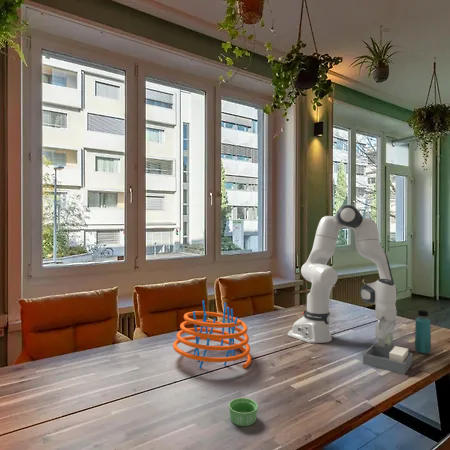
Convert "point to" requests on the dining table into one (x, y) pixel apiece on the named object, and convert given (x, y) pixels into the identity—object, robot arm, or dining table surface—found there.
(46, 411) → the dining table surface
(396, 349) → the cream rectangular block
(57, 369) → the dining table surface
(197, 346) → the orange spiral coil rods
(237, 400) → the ramekin
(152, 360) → the dining table surface
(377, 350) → the tote
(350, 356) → the dining table surface
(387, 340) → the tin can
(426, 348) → the beverage bottle
